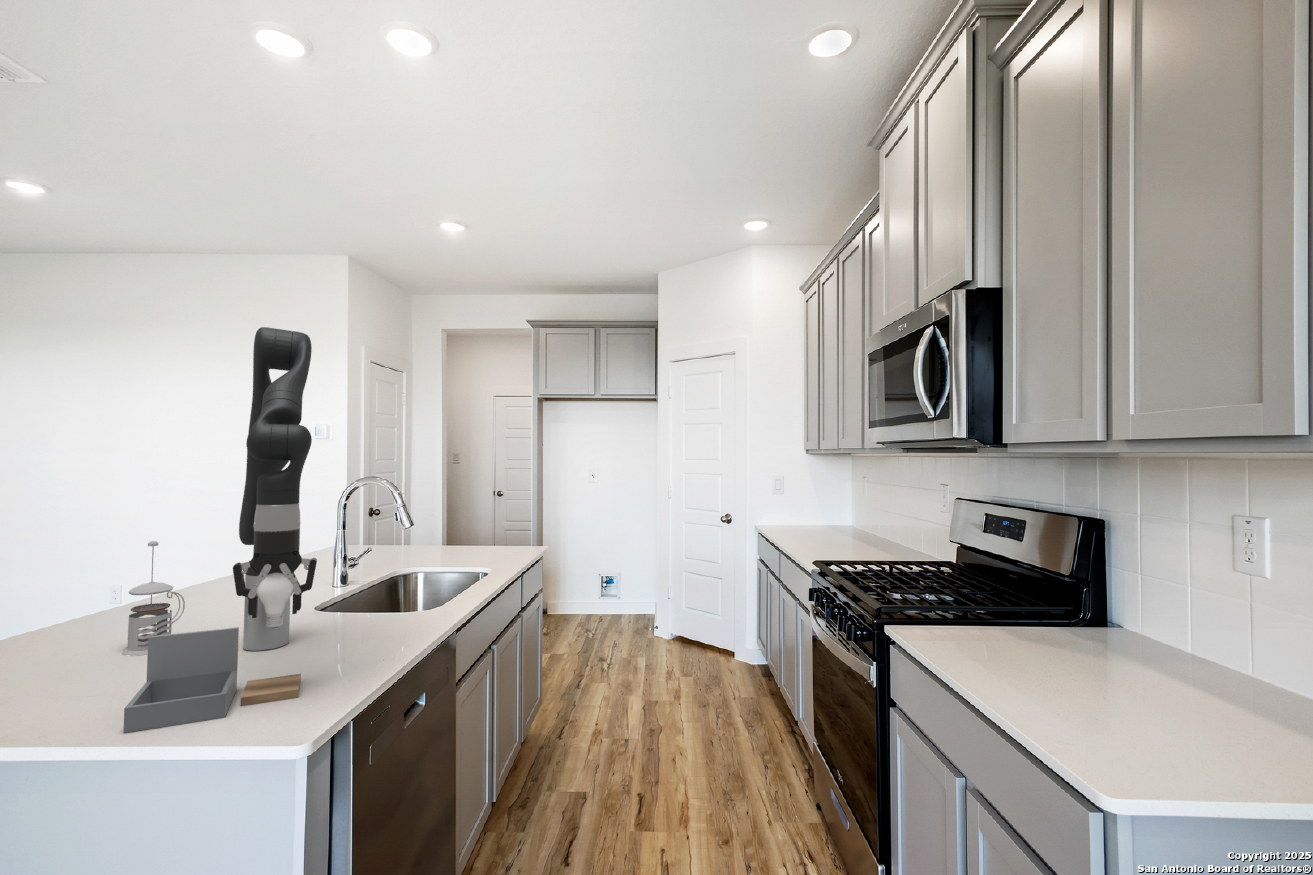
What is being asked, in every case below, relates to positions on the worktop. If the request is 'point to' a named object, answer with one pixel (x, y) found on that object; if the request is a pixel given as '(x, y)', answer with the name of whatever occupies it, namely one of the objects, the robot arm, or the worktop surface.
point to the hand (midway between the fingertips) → (274, 614)
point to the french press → (160, 612)
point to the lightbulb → (275, 597)
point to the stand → (271, 689)
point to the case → (186, 679)
